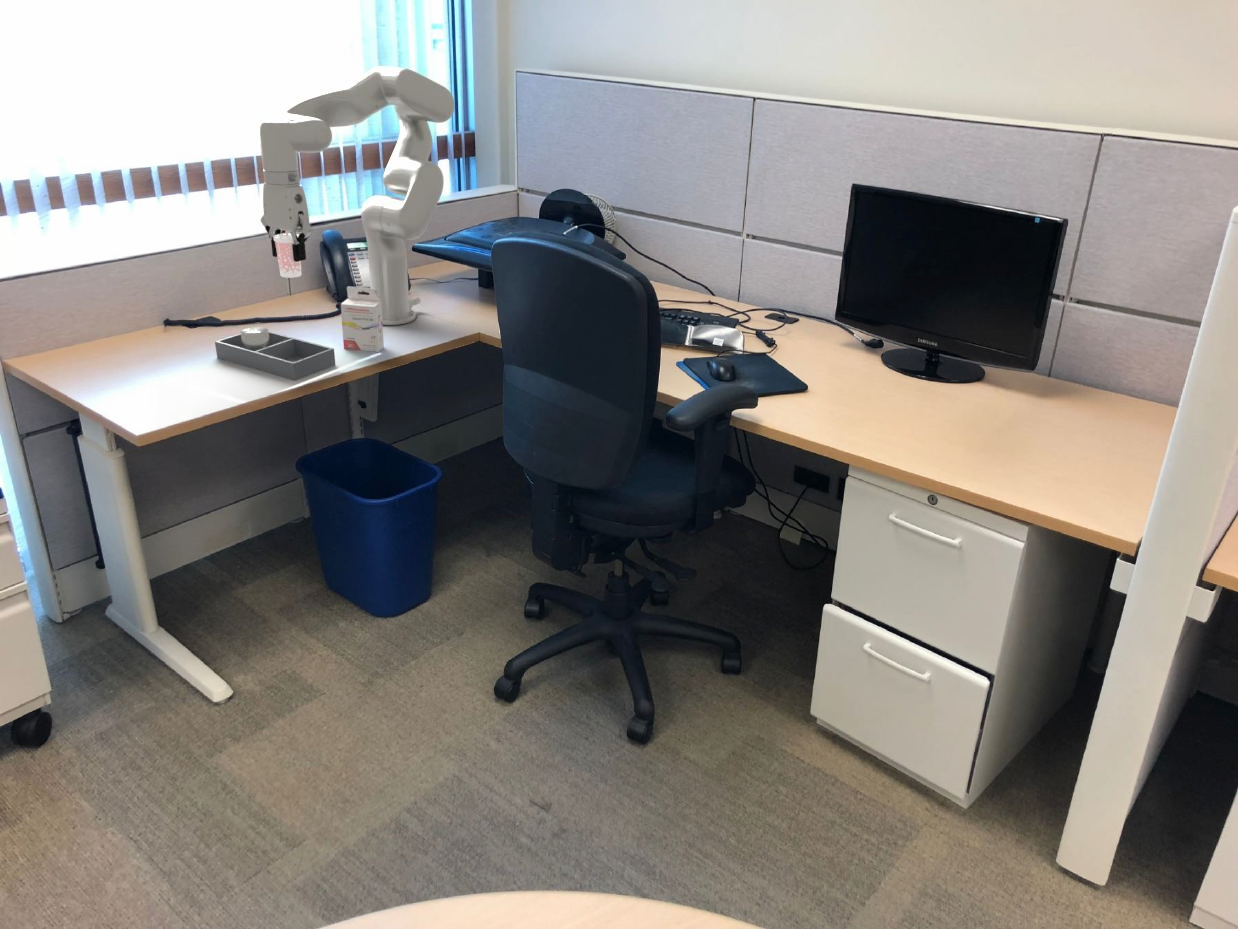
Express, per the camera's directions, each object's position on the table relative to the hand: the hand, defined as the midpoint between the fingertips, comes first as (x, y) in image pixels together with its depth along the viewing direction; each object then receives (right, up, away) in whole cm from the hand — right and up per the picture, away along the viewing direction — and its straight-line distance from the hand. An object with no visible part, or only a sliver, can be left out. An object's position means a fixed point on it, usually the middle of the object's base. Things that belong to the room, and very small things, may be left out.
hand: (289, 257), depth 229 cm
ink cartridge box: (+15, -20, +10) cm, 27 cm away
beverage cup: (0, -4, +2) cm, 4 cm away
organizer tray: (-3, -25, -1) cm, 25 cm away
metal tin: (-8, -23, +1) cm, 24 cm away
